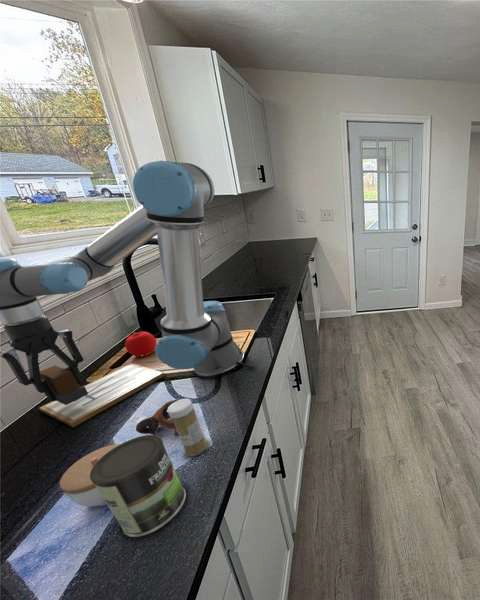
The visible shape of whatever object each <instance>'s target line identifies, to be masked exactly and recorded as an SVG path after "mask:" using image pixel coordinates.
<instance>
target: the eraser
mask: <svg viewBox="0 0 480 600" xmlns="http://www.w3.org/2000/svg"><path fill="white" fill-rule="evenodd" d="M40 376H41V379H44V380H46V381H47V383H48V385H49V386H50V388H51V390H52V392H53V393H54V395H55V397H56V399H57V400H56V401H58V402H60V403H62V404H64V405H67V404H69V403H71V402H73V401H75V400H77V399H79V398H81V397H83V396H85V395H87V394H88V392H87V390H86V388H85V387H84V386H85V385H82V384H81V385H82V386H81V385H79V384H78V383H77V382H76V380H75V378H74V376H73V374H72V372H71V371H69V370H66V369H65V368H63V367H60V366H57V365H51V366H49V367H47V368H45V369H42V370H40ZM43 394H44V395H45V397H47V395H46V394H45V392H44V393H43Z"/></svg>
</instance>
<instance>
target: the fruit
mask: <svg viewBox="0 0 480 600" xmlns="http://www.w3.org/2000/svg"><path fill="white" fill-rule="evenodd" d="M157 342H158V341H157V339H156V337H155V336H154V335H153V334H152V333H150V332H148V331H138V332H135V331H133V332H132V334H130V335H129V336H128V337H127V338H126V340H125V343H124V344H125V345H124V346H125V350H126V351H127V352H128V353H129V354H131V355H132V356H135V357H142V358H143V357H147V356H150V355H151V354H152V353H153V352H154V351H155V348H156V345H157ZM153 350H154V351H153ZM152 351H153V352H152ZM150 352H151V353H150ZM148 353H149V354H148ZM146 354H147V355H146ZM141 355H144V356H141Z"/></svg>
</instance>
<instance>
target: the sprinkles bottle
mask: <svg viewBox="0 0 480 600" xmlns="http://www.w3.org/2000/svg"><path fill="white" fill-rule="evenodd" d="M177 400H178V399H177ZM193 408H194V405H193V401H192V400H191V399H189V398H182V399H181V400H178V401H176V402H174V403H172V404H171V405H170V406H169V407H168V409H167V412H168V414H169V416H170V417H171V418H170V419H171V421H173V422H174V425H175V427H176V430H177V433H178V435H179V436H178V437H179V440H180V442H181V444H182V447H183V449H184V452H185V455H186V456H187V457H196V456H198V455H200V454H202V453H203V452H204V451H206V449H207V447H208V442H207V441H206V438H205V436H204V432H203V429H202V426H201V423H200V422H199V419H198V417H197V415H196V411H195V408H194V409H193ZM194 411H195V412H194Z"/></svg>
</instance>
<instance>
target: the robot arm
mask: <svg viewBox="0 0 480 600" xmlns="http://www.w3.org/2000/svg"><path fill="white" fill-rule="evenodd" d="M131 186H132V192H133V196H134V197H135V200H136V201H137V202H138V204H140V205H141V206H139V207H138V208H137V209H135V210H134V211H132V212H131V213H129V215H127V216H126V217H124V218H123V219H122V220H120V221H119V222H118V223H116V224H115V225H114V226H113V227H111V228H110V229H109V230H107V231H106V232H104V233H103V234H102V235H100V236H99V237H98V238H96V239H95V240H93V242H91V243H89V244H88V245H87V246H86V247H84V248H83V249H82V250H80V251H79V252H78V253H75V254H74V255H72V256H67V257H64V258H62V259H61V258H60V259H58V260H55V261H51V262H47V263H44V264H36V265H27V266H26V265H24V266H23V265H21V264H19V262H18V260H17V259H15V258H12V257H11V258H10V257H6V258H0V324H2V325H4V326H3V329H4V331H5V332H6V335H7V336H8V338H9V339H10V342H11V344H10V347H9V348H8V349H6V350H4V351H0V357H1V358H2V359H3V360H5V361H6V362H7V364H8V366H9V367H10V370H11V371H12V372H13V374H14V376H15V378H16V379H17V381H18V383H19V384H21V385H23V386H29V385H33V386H34V388H35V390H36V391H37V392H38V393H39V394H44V395H45V394H46V395H47V396H46V395H45V396H46V397H47V399H48V400H49V401H50V402H52V401H56V400H57V399H56V397H55V395H54V393H53V392H52V390H51V388H50V386H49V385H48V383H47V381H46V380H44V379H41V376H40V371H41V370H40V361H39V357H40V355H39V354H41V353H42V352H45V351H50V352H51V353H53V354H54V355H55V356H56V357H57V358H58V359H59V360H60V361H61V362H63V363H64V364H65V365H66V366H67V367H64V369H66V370H69V371H71V372H72V374H73V376H74V378H75V380H76V382H77V383H78V384H79V385H81V386H83V385H82V383H81V381H80V379H79V377H80V376H82V373H81V371H80V369H79V364H80V363H82V362H84V357H83V355H82V353H81V352H80V350H79V347H78V346H77V345H76V343H75V341H74V339H73V331H72V330H69V329H63V330H60V331H59V330H56V329H54V327H53V326H52V323H51V322H50V320H49V318H48V316H47V315H45V311H44V309H43V307H42V305H41V304H40V302H39V300H38V297H40V296H41V297H42V296H52V295H68V294H70V293H71V294H72V293H78V292H80V291H82V290H84V289H85V287H86V285H87V284H88V282H90V281H92V280H95V279H97V278H100V277H103V276H106V275H107V274H109V273H110V272H112V271H113V270H114V268H115V266H116V265H118V263H120V262H121V261H123V260H124V259H126V258H127V257H128V256H129V255H131V254H133V253H134V252H135V251H137V250H138V249H139V248H141V247H142V246H144V245H145V244H146V243H148V242H149V241H150V240H151V239H153V238H154V237H156V238H157V245H158V253H159V261H160V270H161V280H162V286H163V287H162V288H163V296H164V304H165V312H166V315H164V317H162V318H161V319H160V330H161V338H160V339H158V341H157V345H156V348H155V350H154V352H155V355H156V357H157V359H158V360H159V361H160V362H161V363H162V364H164V365H167V367H169V368H172V369H174V370H190V369H193V371H194V374H195V375H196V376H197V377H199V378H203V379H209V378H210V379H211V378H216V377H221V376H224V375H226V374H229V373H232V372H233V371H235V370H236V369H238V368H239V367H240V366H242V367H245V368H248V369H251V370H253V369H254V366H252V365H250V364H246V363H244V362H245V354H244V352H243V350H242V349H241V348H240V346H239V345H238V344H237V343H236V341H235V340H234V338H233V334H232V331H231V327H230V324H229V321H228V317H227V315H226V309H225V308H224V306H223V303H222V302H220V301H218V300H208V301H207V300H206V301H204V293H203V280H202V269H201V267H202V265H201V253H200V252H201V251H200V238H199V228H200V227H201V226H202V225H203V224H204V223H205V211H204V208H205V207H207V206H208V205H209V204H210V203H211V202H212V201H213V199H214V196H215V191H216V190H215V184H214V182H213V180H212V177H211V176H210V175H209V174H208V172H206V171H205V170H204V169H203V168H201V167H200V166H199V165H195V164H193V163H189V162H178V161H171V160H156V161H150V162H147V163H145V164H143V165H141V166H140V167H139V168H138V169H137V170H136V172H135V173H134V175H133V177H132V184H131ZM58 337H59V338H60V339H62V341H63V343H64V345H65V347H66V348H67V350H68V352H69V353H70V355H71V357H72V358H70V357H69V355H67V354H66V352H64V351H63V350H62V349H61V348H60V347H59V345H57V344H56V342H57V339H58ZM17 351H18V352H22V353H25V358H26V361H27V367H28V368H27V369H28V375H27V374H26V372H25V370H24V368H23V367H22V365H21V363H20V362H19V360H18V358H17V355H18V354H17V353H16V352H17ZM28 376H29V377H28ZM44 392H45V393H44Z"/></svg>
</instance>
